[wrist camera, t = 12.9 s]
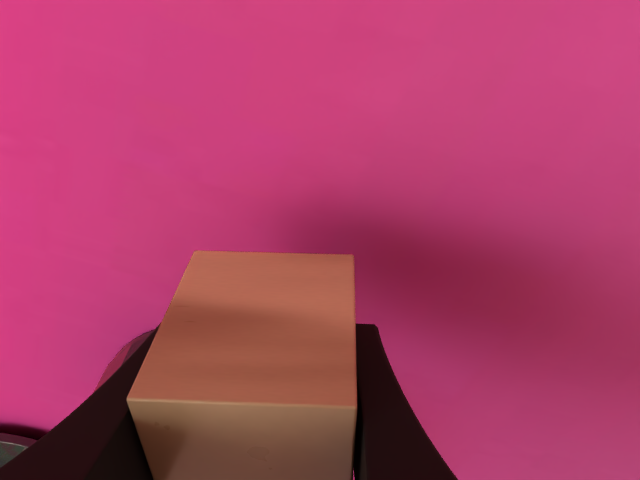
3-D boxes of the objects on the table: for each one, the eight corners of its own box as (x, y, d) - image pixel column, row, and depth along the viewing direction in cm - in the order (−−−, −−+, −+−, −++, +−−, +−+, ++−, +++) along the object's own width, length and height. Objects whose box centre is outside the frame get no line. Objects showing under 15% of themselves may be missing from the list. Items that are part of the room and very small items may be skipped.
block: (348, 365, 16) (350, 528, 11) (213, 361, 16) (165, 519, 12) (354, 253, 13) (357, 408, 9) (194, 249, 13) (124, 399, 9)
